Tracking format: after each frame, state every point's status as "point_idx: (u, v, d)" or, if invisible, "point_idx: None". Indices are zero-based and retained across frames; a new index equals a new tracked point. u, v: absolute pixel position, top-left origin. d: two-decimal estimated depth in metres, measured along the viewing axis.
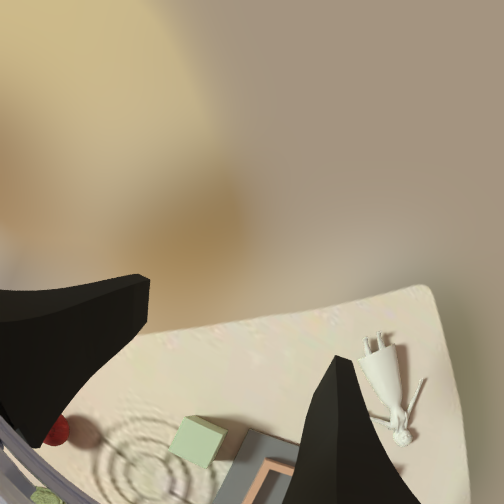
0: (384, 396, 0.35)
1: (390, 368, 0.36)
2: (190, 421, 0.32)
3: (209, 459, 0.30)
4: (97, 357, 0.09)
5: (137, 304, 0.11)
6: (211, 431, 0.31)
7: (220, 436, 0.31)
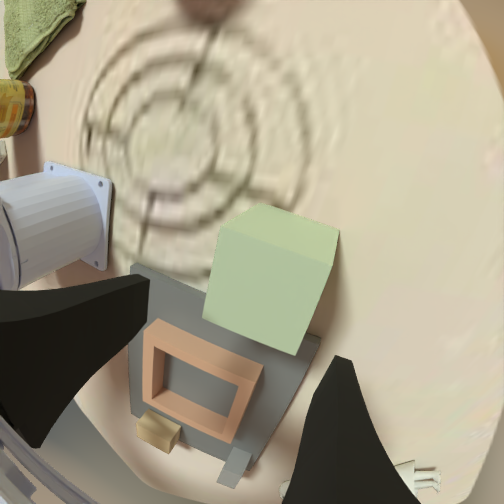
0: None
1: None
2: (321, 282, 0.13)
3: (227, 326, 0.15)
4: (97, 357, 0.09)
5: (137, 304, 0.11)
6: (300, 332, 0.14)
7: (290, 350, 0.14)
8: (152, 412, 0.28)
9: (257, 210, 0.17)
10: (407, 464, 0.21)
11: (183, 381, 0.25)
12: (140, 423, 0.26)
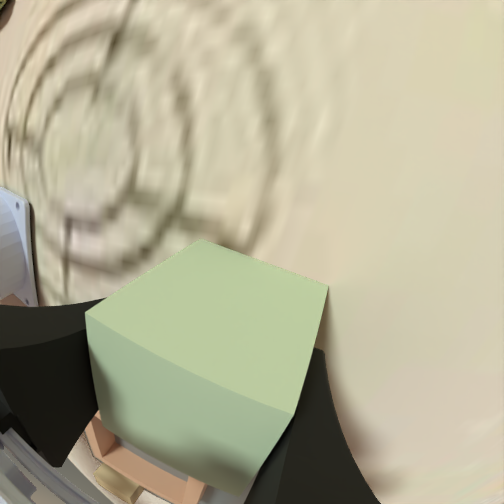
0: None
1: None
2: (271, 435, 0.06)
3: (135, 445, 0.08)
4: None
5: None
6: (243, 479, 0.07)
7: (231, 491, 0.07)
8: None
9: (184, 259, 0.10)
10: None
11: None
12: (98, 474, 0.19)
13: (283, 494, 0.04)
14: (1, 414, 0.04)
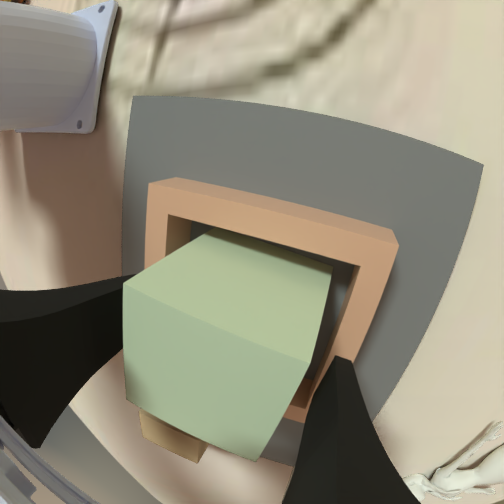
0: None
1: None
2: (290, 386, 0.07)
3: (158, 415, 0.09)
4: (97, 357, 0.09)
5: None
6: (261, 440, 0.08)
7: (248, 456, 0.08)
8: None
9: (205, 242, 0.11)
10: None
11: None
12: (146, 411, 0.16)
13: None
14: None
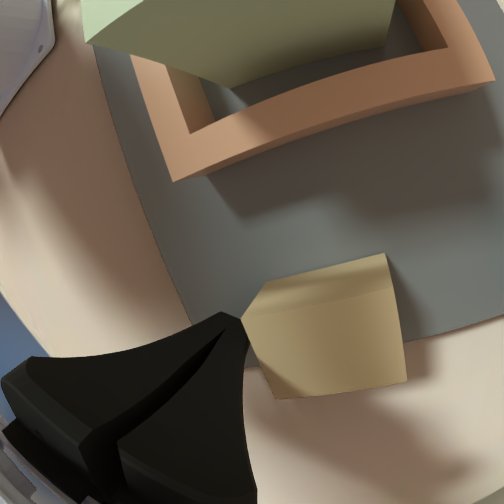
0: None
1: None
2: None
3: None
4: None
5: None
6: None
7: None
8: (282, 280, 0.10)
9: None
10: None
11: None
12: (256, 312, 0.08)
13: (141, 431, 0.04)
14: (77, 486, 0.04)
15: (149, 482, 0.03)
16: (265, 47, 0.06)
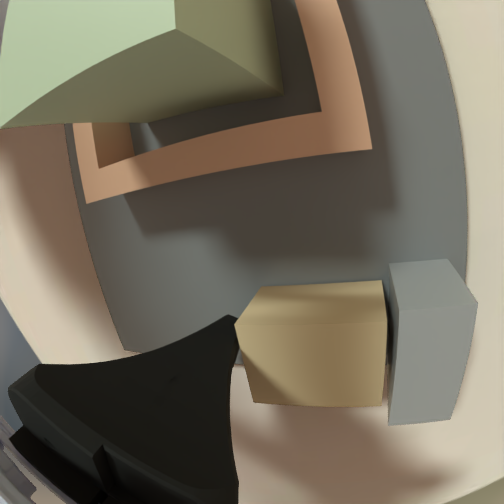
0: None
1: None
2: None
3: (24, 101, 0.04)
4: None
5: None
6: None
7: (155, 25, 0.03)
8: (277, 288, 0.10)
9: None
10: None
11: None
12: (250, 320, 0.08)
13: (126, 422, 0.04)
14: (88, 494, 0.04)
15: (131, 472, 0.03)
16: (151, 106, 0.07)
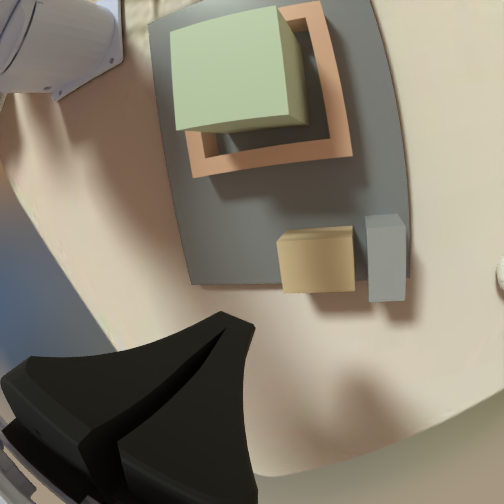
0: None
1: None
2: (273, 22, 0.10)
3: (203, 121, 0.12)
4: None
5: None
6: (280, 81, 0.11)
7: (280, 110, 0.11)
8: (296, 230, 0.18)
9: None
10: None
11: None
12: (284, 240, 0.17)
13: (141, 432, 0.04)
14: (77, 486, 0.04)
15: (150, 482, 0.03)
16: (245, 128, 0.15)
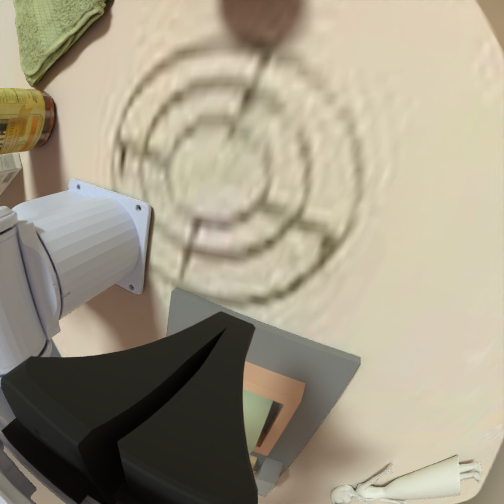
0: (402, 489, 0.22)
1: (433, 496, 0.20)
2: None
3: None
4: None
5: None
6: None
7: None
8: None
9: None
10: (451, 459, 0.21)
11: None
12: None
13: (141, 432, 0.04)
14: (77, 485, 0.04)
15: (150, 482, 0.03)
16: None
